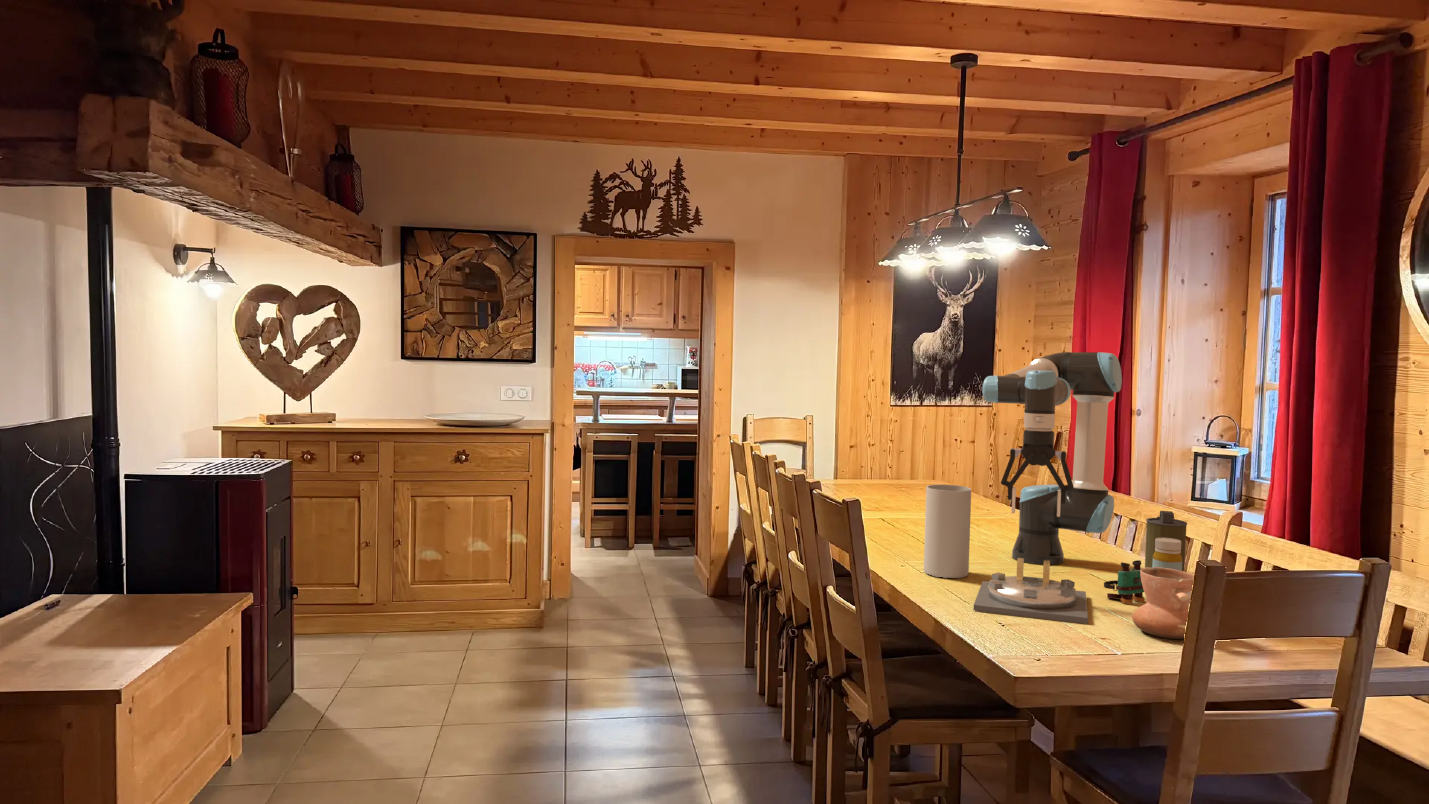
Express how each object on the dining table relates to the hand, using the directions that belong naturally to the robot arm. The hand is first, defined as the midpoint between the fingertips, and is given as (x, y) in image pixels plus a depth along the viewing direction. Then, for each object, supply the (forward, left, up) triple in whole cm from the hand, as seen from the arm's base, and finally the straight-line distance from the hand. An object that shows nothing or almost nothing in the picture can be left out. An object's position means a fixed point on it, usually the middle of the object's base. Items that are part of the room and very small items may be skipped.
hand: (1035, 514), depth 235 cm
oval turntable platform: (+7, 0, -20) cm, 22 cm away
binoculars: (-8, +22, -22) cm, 32 cm away
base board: (+7, 0, -22) cm, 23 cm away
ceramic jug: (+20, +29, -22) cm, 42 cm away
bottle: (-17, +33, -22) cm, 43 cm away
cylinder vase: (-16, -24, -22) cm, 36 cm away
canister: (-34, +34, -22) cm, 53 cm away
